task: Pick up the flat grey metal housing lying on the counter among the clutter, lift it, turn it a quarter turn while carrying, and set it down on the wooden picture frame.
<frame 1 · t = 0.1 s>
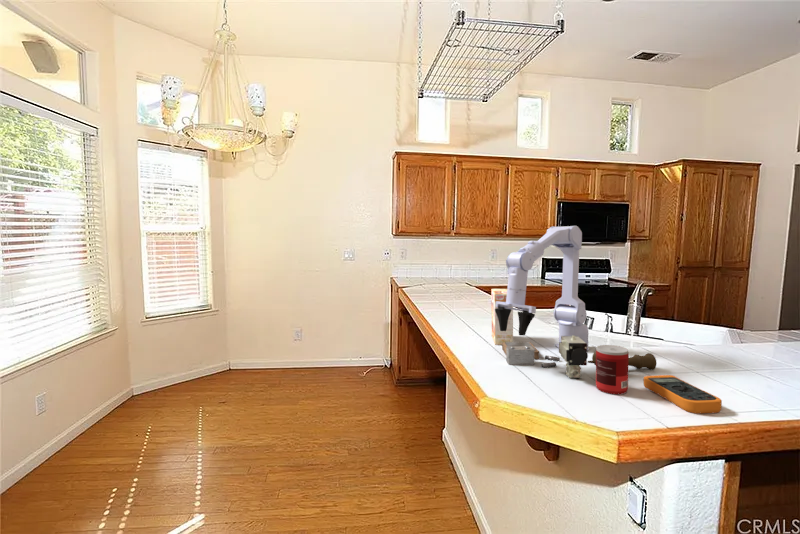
hand: (512, 333, 130), 11 cm above the counter, tool pointing down, fingers open, 7 cm apart
bolt a: (548, 367, 130), on the counter
canned food: (611, 390, 110), on the counter
pneumatic valve: (571, 377, 120), on the counter
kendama: (620, 371, 125), on the counter
multimeter: (680, 400, 103), on the counter
bolt b: (552, 360, 136), on the counter
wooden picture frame: (519, 353, 144), on the counter
housing: (520, 363, 134), on the counter
coffeecake box: (501, 340, 163), on the counter
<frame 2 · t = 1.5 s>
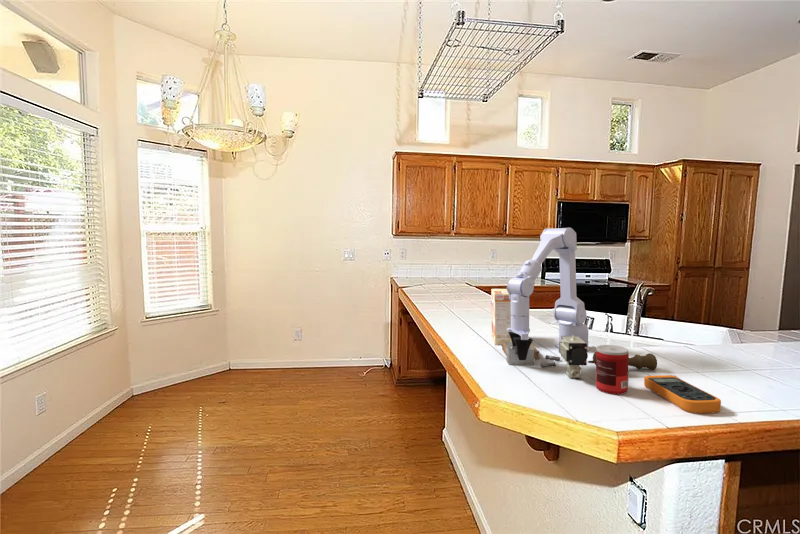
hand: (519, 356, 134), 2 cm above the counter, tool pointing down, fingers open, 6 cm apart
bolt a: (548, 367, 130), on the counter, tilted 26°
bolt b: (552, 360, 136), on the counter, tilted 38°
everything else where it was.
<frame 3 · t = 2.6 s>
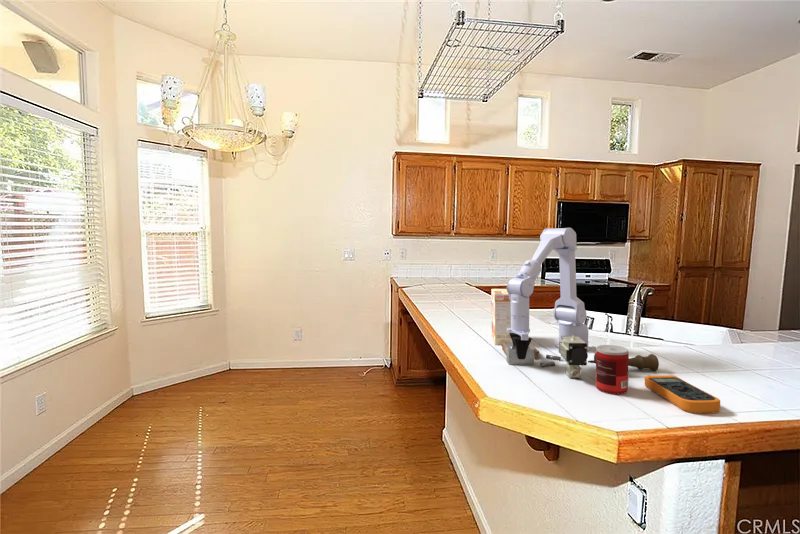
hand: (520, 356, 134), 2 cm above the counter, tool pointing down, fingers closed on housing, 4 cm apart
bolt a: (548, 366, 130), on the counter, tilted 67°
bolt b: (552, 358, 137), point 1 cm above the counter, tilted 99°
housing: (520, 362, 134), on the counter, touching gripper
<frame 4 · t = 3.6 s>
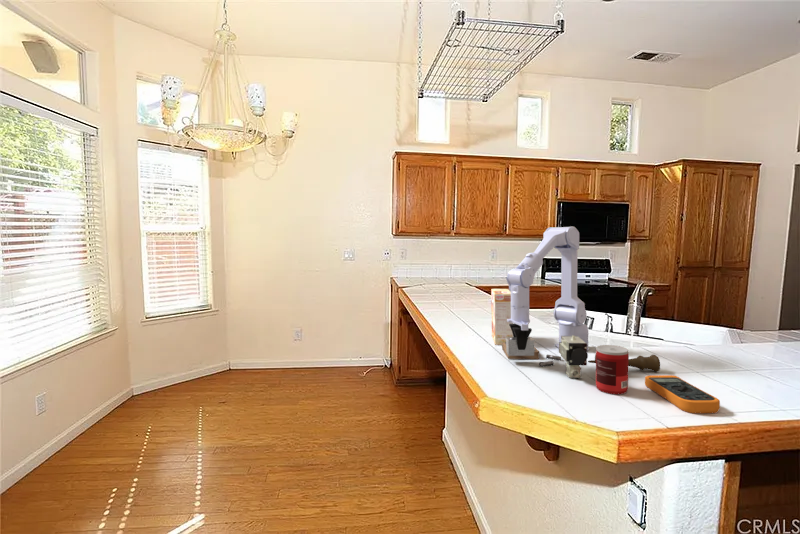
hand: (520, 347, 134), 5 cm above the counter, tool pointing down, fingers closed on housing, 4 cm apart
bolt a: (547, 363, 130), point 1 cm above the counter, tilted 123°
bolt b: (552, 357, 137), point 1 cm above the counter, tilted 120°
housing: (520, 353, 134), point 3 cm above the counter, touching gripper
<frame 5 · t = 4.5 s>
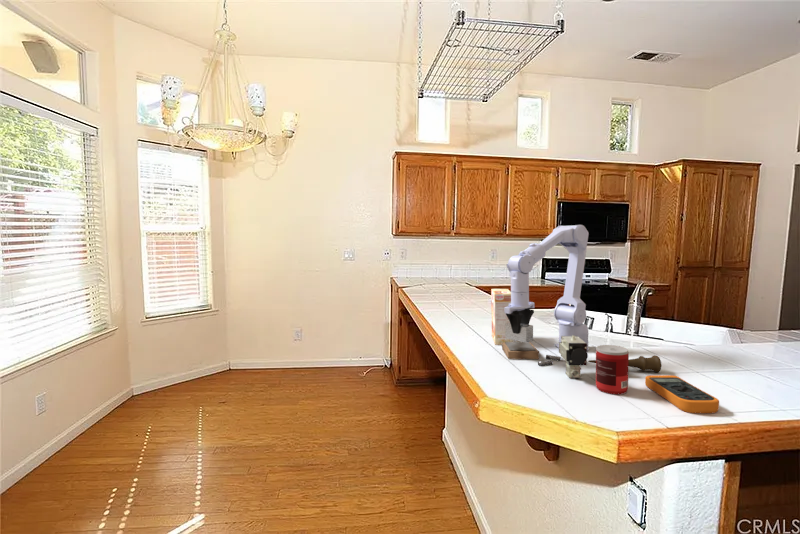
hand: (519, 332, 138), 9 cm above the counter, tool pointing down, fingers closed on housing, 4 cm apart
bolt a: (544, 361, 132), point 1 cm above the counter, tilted 170°
bolt b: (552, 358, 136), on the counter, tilted 86°
housing: (519, 339, 139), point 6 cm above the counter, touching gripper
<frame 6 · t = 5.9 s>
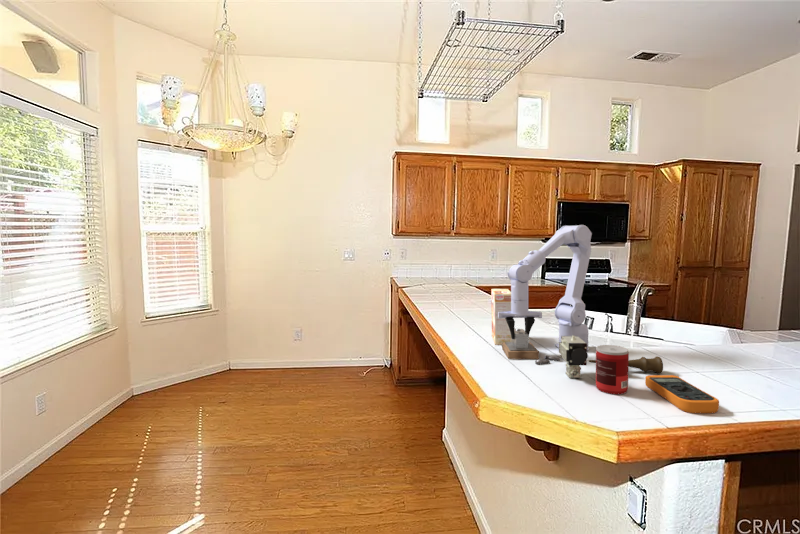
hand: (519, 338, 144), 5 cm above the counter, tool pointing down, fingers closed on housing, 4 cm apart
bolt a: (541, 363, 133), on the counter, tilted 34°
bolt b: (552, 360, 136), on the counter, tilted 20°
housing: (519, 345, 144), point 3 cm above the counter, touching gripper, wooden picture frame
when the fingers open (5 cm above the counter, at t = 6.4 s): housing stays where it is, resting on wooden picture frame.
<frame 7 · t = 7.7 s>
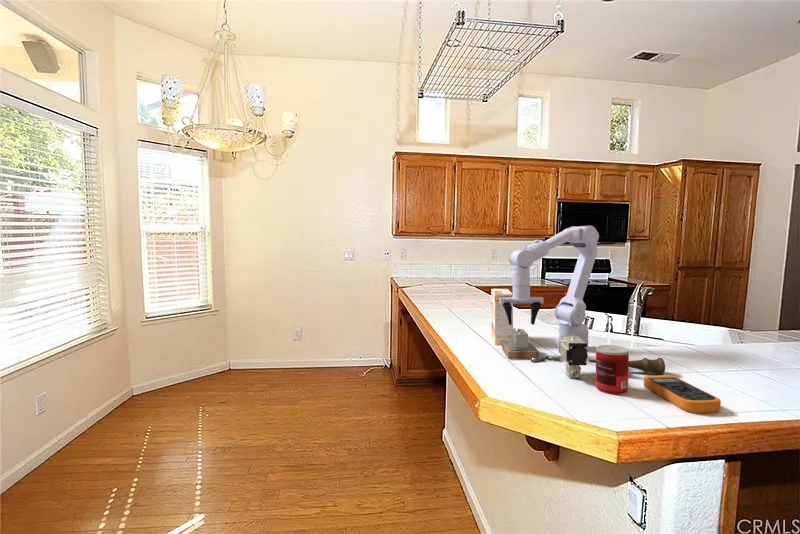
hand: (521, 324, 144), 10 cm above the counter, tool pointing down, fingers open, 7 cm apart
bolt a: (537, 357, 136), point 1 cm above the counter, tilted 144°
bolt b: (552, 360, 136), on the counter, tilted 5°
housing: (519, 345, 144), point 3 cm above the counter, touching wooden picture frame
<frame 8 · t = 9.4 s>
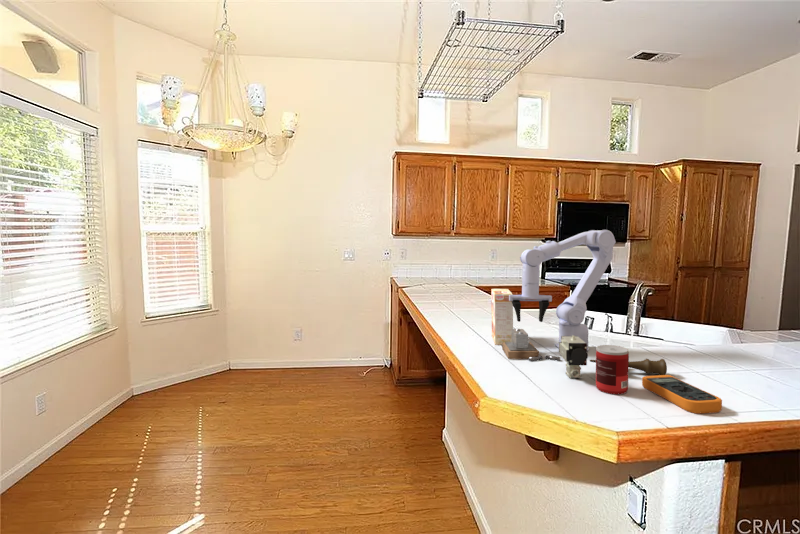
hand: (529, 321, 148), 10 cm above the counter, tool pointing down, fingers open, 7 cm apart
bolt a: (535, 360, 137), on the counter, tilted 12°
bolt b: (552, 359, 136), on the counter, tilted 59°
at the end: housing inside the target area on the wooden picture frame (0.3 cm from its centre), point 2.8 cm above the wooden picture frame's base; housing tilted 0°; the gripper is holding nothing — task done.
